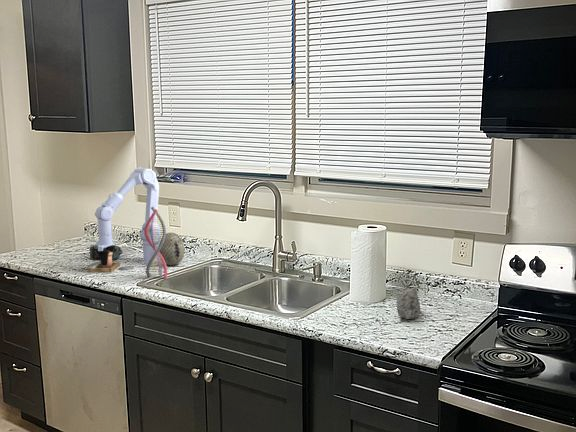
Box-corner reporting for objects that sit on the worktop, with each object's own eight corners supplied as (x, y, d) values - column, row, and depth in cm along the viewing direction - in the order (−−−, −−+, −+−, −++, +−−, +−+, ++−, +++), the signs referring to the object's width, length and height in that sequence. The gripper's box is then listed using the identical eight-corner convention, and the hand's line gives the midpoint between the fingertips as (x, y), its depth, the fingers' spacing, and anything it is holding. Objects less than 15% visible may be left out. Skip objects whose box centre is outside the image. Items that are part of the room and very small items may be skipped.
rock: (410, 305, 227) (408, 281, 224) (431, 309, 222) (429, 284, 219) (390, 323, 215) (387, 298, 213) (411, 328, 210) (409, 301, 208)
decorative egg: (167, 269, 281) (165, 236, 278) (154, 264, 290) (153, 232, 287) (189, 265, 288) (188, 233, 286) (177, 260, 297) (175, 229, 295)
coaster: (135, 267, 284) (135, 266, 284) (131, 271, 278) (131, 270, 278) (121, 267, 285) (121, 266, 285) (116, 271, 278) (116, 269, 278)
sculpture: (122, 247, 307) (91, 253, 305) (119, 236, 302) (87, 242, 300) (123, 264, 298) (91, 270, 296) (120, 252, 293) (87, 259, 291)
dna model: (162, 281, 261) (160, 209, 256) (142, 280, 263) (139, 209, 258) (170, 275, 270) (168, 206, 265) (151, 274, 272) (148, 206, 267)
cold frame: (120, 266, 287) (120, 260, 286) (111, 273, 274) (110, 267, 274) (96, 265, 287) (96, 260, 287) (86, 273, 275) (86, 267, 274)
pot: (114, 266, 283) (114, 251, 282) (110, 269, 278) (110, 254, 277) (103, 266, 283) (102, 251, 282) (98, 269, 278) (98, 254, 277)
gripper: (101, 230, 285) (103, 259, 288) (90, 236, 271) (92, 267, 273) (117, 230, 285) (118, 259, 287) (106, 236, 271) (108, 267, 273)
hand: (106, 263), depth 280 cm, fingers closed on pot, 5 cm apart
